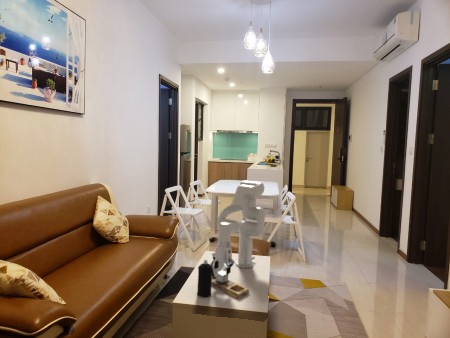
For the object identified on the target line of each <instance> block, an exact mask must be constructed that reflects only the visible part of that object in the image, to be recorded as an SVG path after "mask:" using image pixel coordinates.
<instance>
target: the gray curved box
mask: <svg viewBox="0 0 450 338" xmlns="http://www.w3.org/2000/svg"><path fill="white" fill-rule="evenodd" d="M214 263H215V262H214V260H213V259H212V260H211V261H210V263H209V264H210V265H211V266H212V267H213V269H212V278H216V276H217V272H220V271H225V272H226V268H227V265H225V263H222V262H220V261H219V267H218V268H217V269H214Z"/></svg>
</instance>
